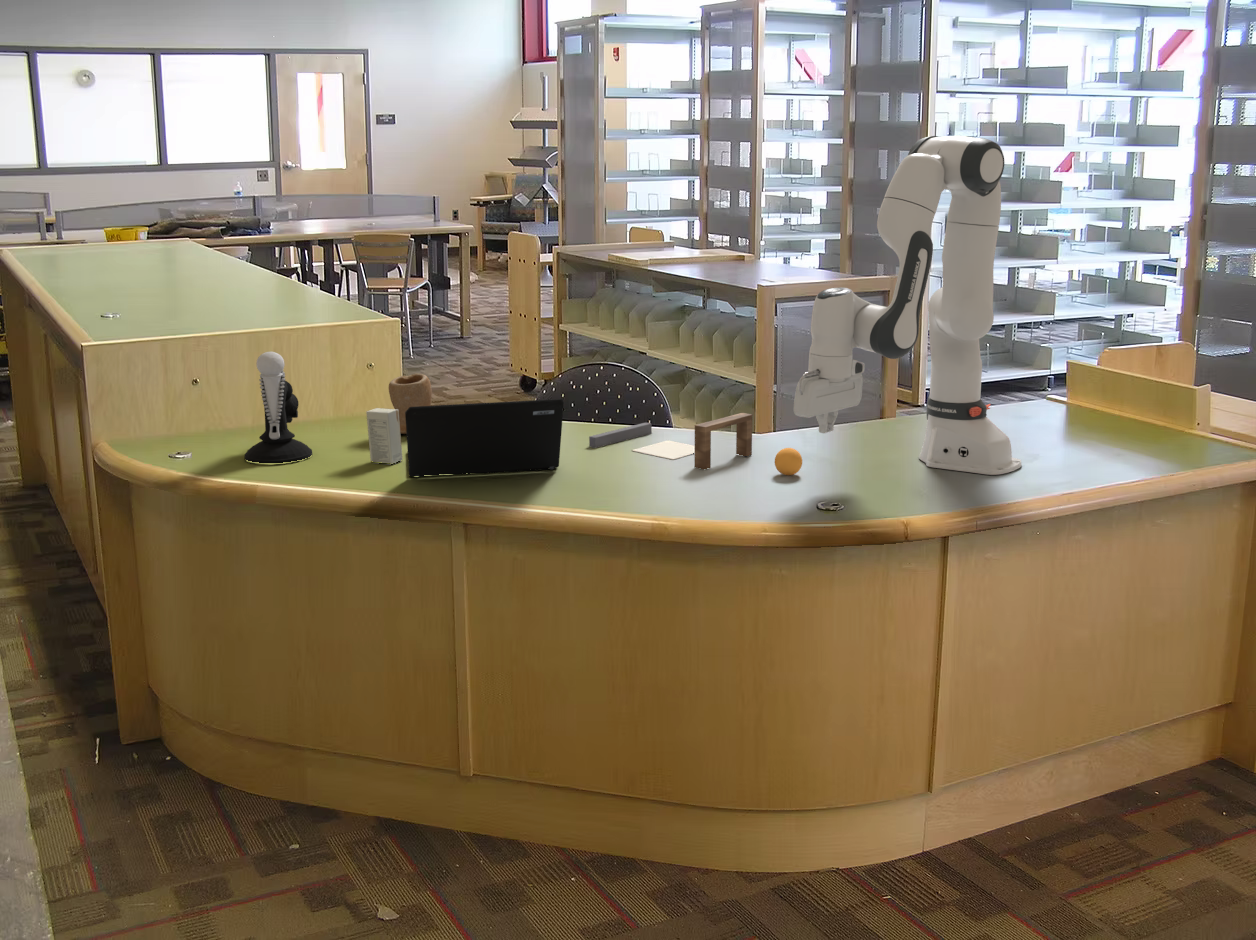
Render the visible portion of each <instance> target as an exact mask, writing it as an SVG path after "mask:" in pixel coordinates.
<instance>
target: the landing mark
mask: <svg viewBox="0 0 1256 940" xmlns="http://www.w3.org/2000/svg"><path fill="white" fill-rule="evenodd" d="M631 452H634V453H639V454H645V455H649V456H654V457H658V458H663V459H667V460H672V461H675V460H679V459H681V458H684V456H685V457H688V456H687V455H689V456H691V455H690V454H692V455H694V454H693V453H695V445H692V444H688V443H683V442H678V441H674V440H669V439H668V440H667V439H666V440H664V441H660V442H655V443H653V444H649V445H645V446H643V447H642V446H641V447H638V448H635V449H631Z"/></svg>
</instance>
